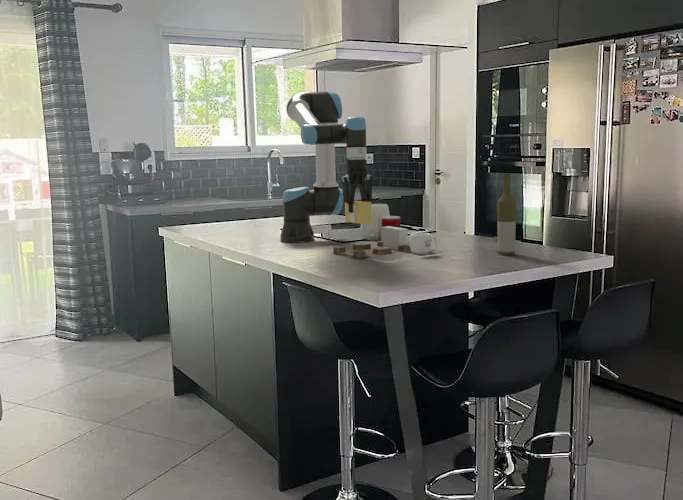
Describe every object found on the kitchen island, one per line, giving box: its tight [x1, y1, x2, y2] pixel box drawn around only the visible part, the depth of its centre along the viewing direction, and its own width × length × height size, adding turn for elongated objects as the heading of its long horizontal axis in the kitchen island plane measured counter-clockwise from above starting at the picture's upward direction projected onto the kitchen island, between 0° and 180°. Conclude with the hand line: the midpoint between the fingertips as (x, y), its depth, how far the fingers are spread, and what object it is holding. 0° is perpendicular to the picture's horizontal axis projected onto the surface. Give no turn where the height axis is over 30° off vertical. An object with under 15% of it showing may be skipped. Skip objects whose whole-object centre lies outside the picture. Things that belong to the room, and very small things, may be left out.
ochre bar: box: [344, 199, 372, 225], centre depth 262 cm, size 12×4×8 cm, turn 32°
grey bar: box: [380, 226, 409, 250], centre depth 273 cm, size 12×4×8 cm, turn 32°
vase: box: [359, 203, 391, 241], centre depth 305 cm, size 14×14×15 cm
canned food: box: [382, 215, 402, 228], centre depth 293 cm, size 8×8×11 cm
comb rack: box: [332, 240, 411, 260], centre depth 268 cm, size 18×24×3 cm
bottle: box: [496, 172, 517, 256], centre depth 254 cm, size 7×7×30 cm
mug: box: [408, 232, 438, 255], centre depth 262 cm, size 12×8×8 cm
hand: (358, 220), depth 262 cm, fingers closed on ochre bar, 4 cm apart
